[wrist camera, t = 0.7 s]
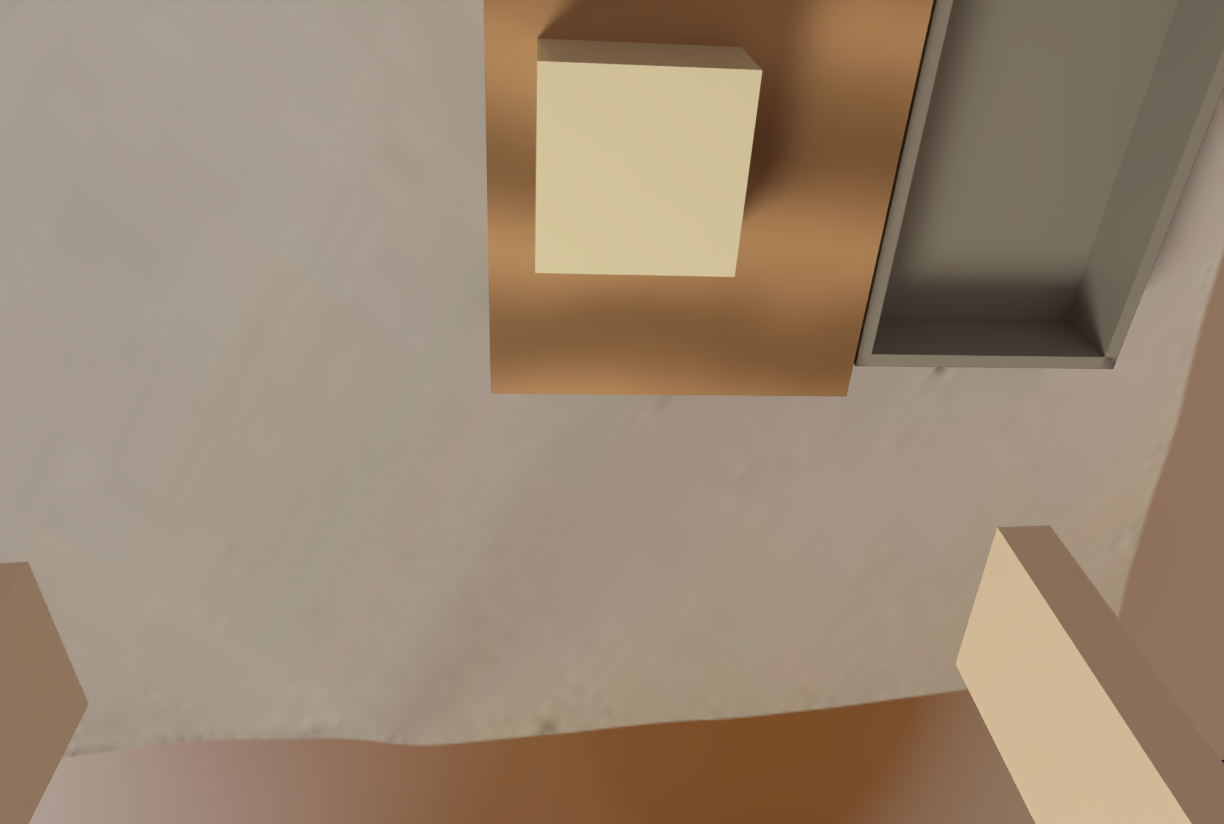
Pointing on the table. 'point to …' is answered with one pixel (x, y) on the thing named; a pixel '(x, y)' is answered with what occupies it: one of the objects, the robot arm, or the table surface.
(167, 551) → the table surface
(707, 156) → the block
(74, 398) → the table surface
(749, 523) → the table surface
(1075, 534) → the table surface
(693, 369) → the board
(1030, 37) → the tray
